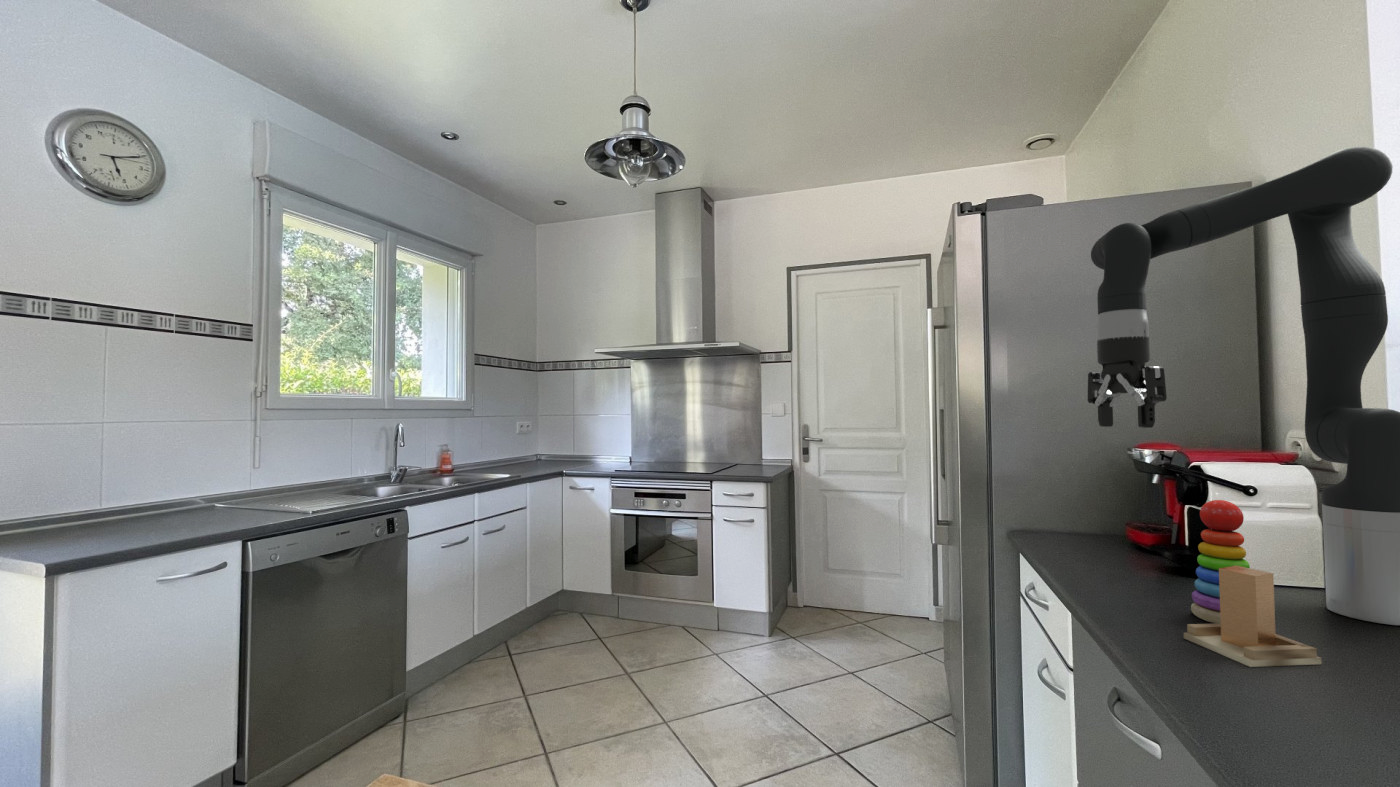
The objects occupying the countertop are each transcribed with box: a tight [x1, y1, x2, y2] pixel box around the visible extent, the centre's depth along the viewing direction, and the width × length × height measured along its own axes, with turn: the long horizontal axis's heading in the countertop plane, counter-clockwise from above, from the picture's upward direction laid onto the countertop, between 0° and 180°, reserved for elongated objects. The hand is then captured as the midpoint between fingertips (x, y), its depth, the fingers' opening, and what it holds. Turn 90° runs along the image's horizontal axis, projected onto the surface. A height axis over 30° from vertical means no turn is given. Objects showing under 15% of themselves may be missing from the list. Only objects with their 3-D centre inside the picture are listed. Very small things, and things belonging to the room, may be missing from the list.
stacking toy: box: [1190, 499, 1251, 624], centre depth 87 cm, size 8×8×19 cm
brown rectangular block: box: [1219, 566, 1277, 647], centre depth 76 cm, size 4×4×10 cm
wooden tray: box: [1183, 623, 1322, 668], centre depth 76 cm, size 10×9×2 cm
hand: (1125, 427), depth 99 cm, fingers open, 8 cm apart
